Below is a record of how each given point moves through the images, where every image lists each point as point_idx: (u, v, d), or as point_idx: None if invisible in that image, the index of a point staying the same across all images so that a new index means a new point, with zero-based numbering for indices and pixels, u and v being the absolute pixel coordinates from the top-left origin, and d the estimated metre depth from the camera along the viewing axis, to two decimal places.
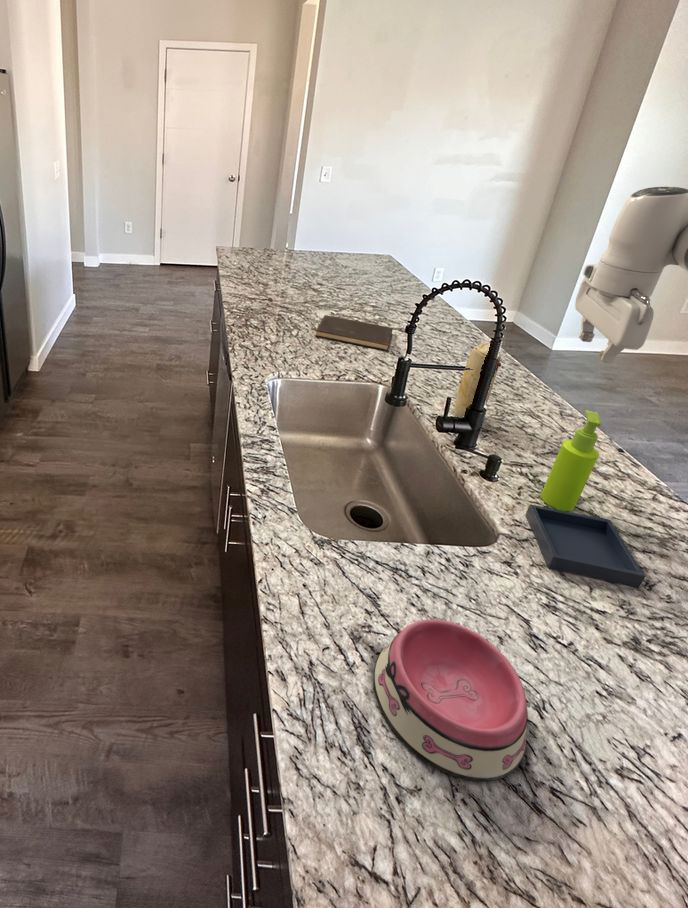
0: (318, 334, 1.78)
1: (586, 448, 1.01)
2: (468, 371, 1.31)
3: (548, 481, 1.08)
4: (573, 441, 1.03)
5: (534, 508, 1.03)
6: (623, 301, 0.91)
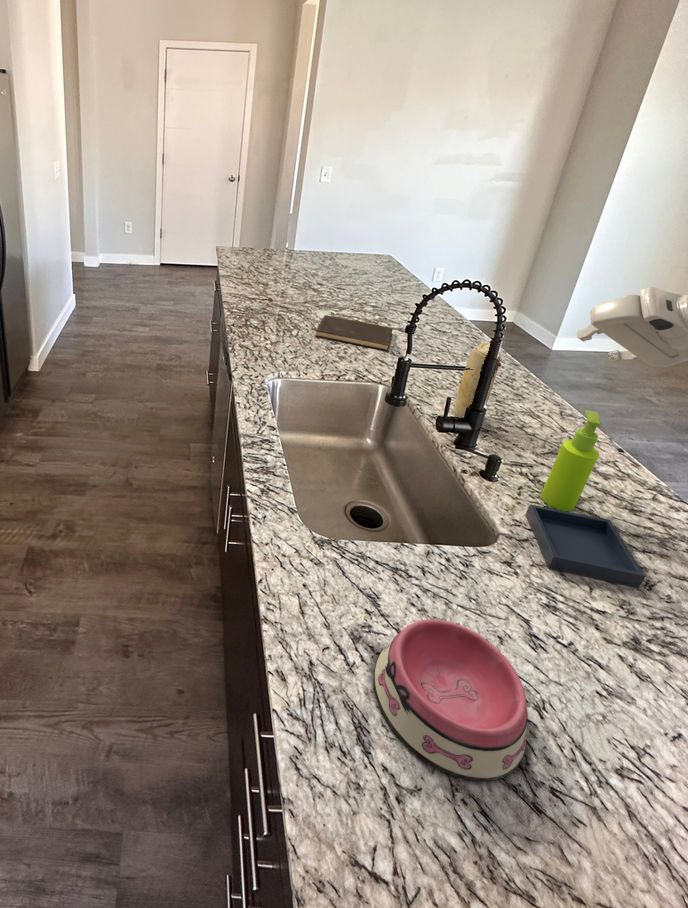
0: (318, 334, 1.78)
1: (586, 448, 1.01)
2: (468, 371, 1.31)
3: (548, 481, 1.08)
4: (573, 441, 1.03)
5: (534, 508, 1.03)
6: None
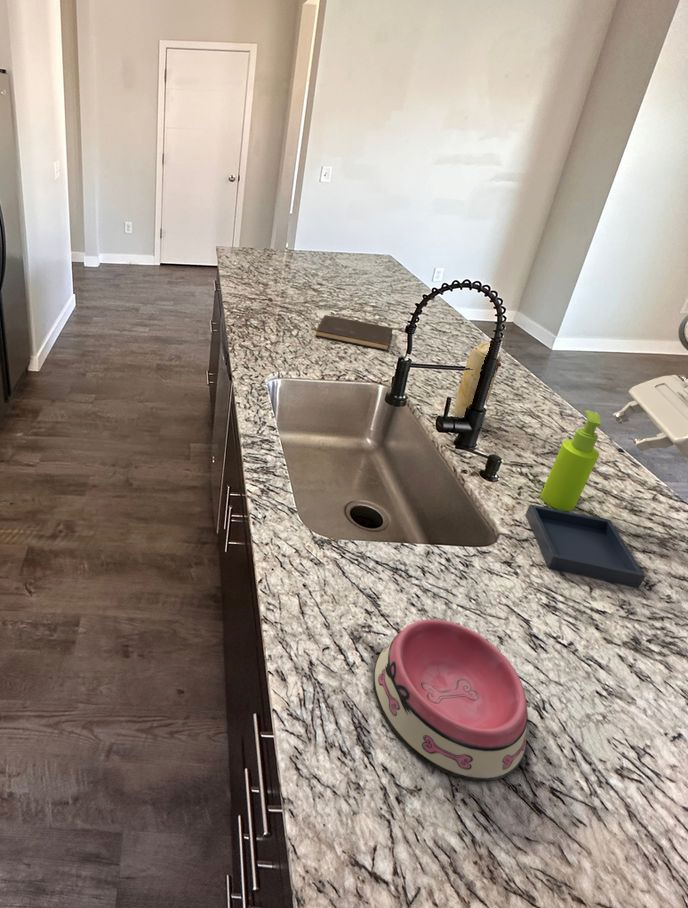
0: (318, 334, 1.78)
1: (586, 448, 1.01)
2: (468, 371, 1.31)
3: (548, 481, 1.08)
4: (573, 441, 1.03)
5: (534, 508, 1.03)
6: None
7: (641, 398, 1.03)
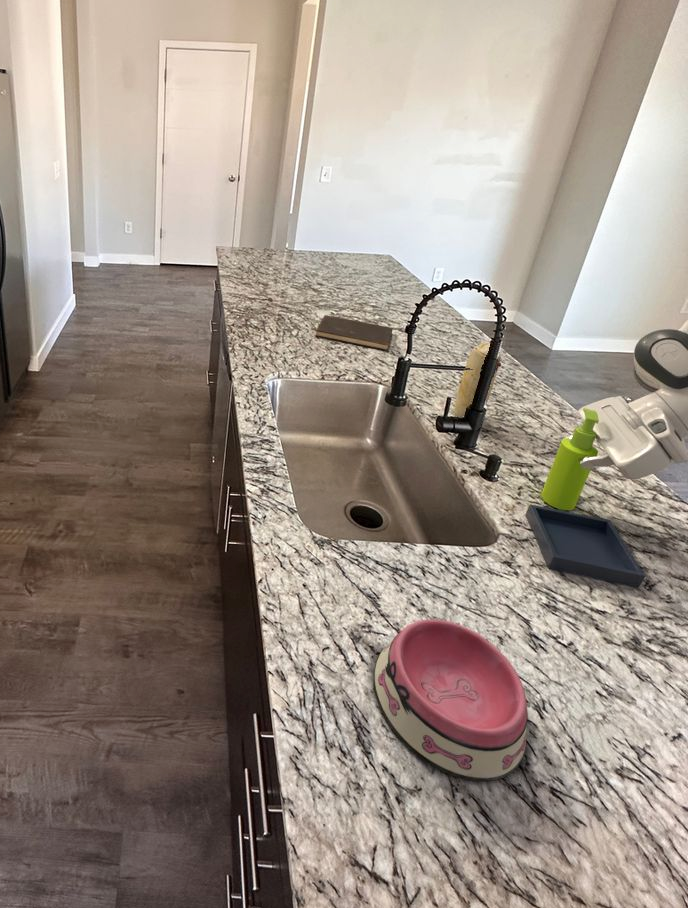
0: (318, 334, 1.78)
1: (585, 445, 1.02)
2: (468, 371, 1.31)
3: (548, 480, 1.08)
4: (572, 439, 1.04)
5: (534, 508, 1.03)
6: None
7: None
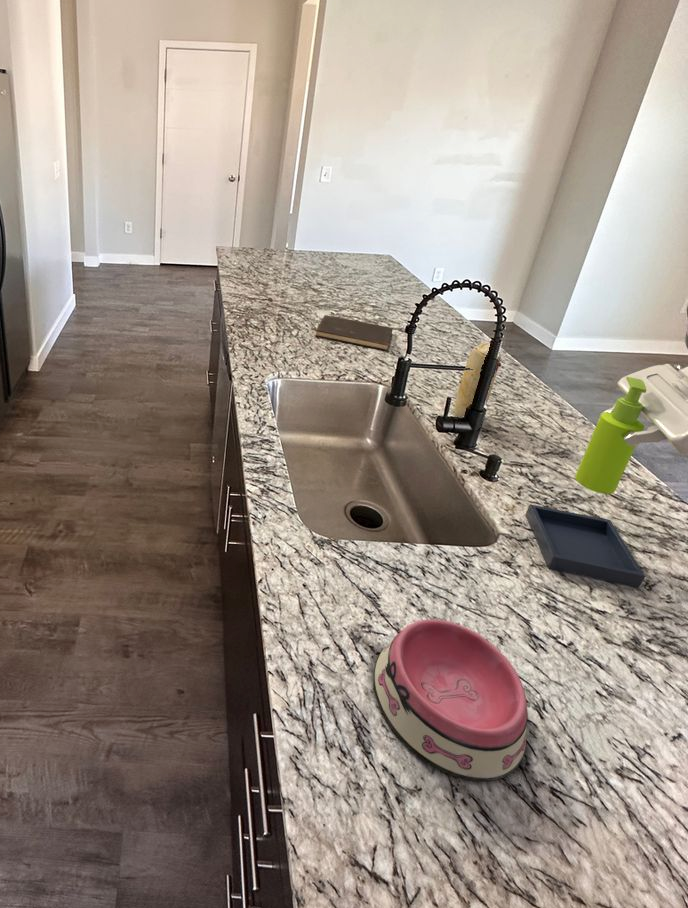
0: (318, 334, 1.78)
1: (630, 418, 0.88)
2: (468, 371, 1.31)
3: (584, 460, 0.95)
4: (614, 412, 0.90)
5: (534, 508, 1.03)
6: None
7: None
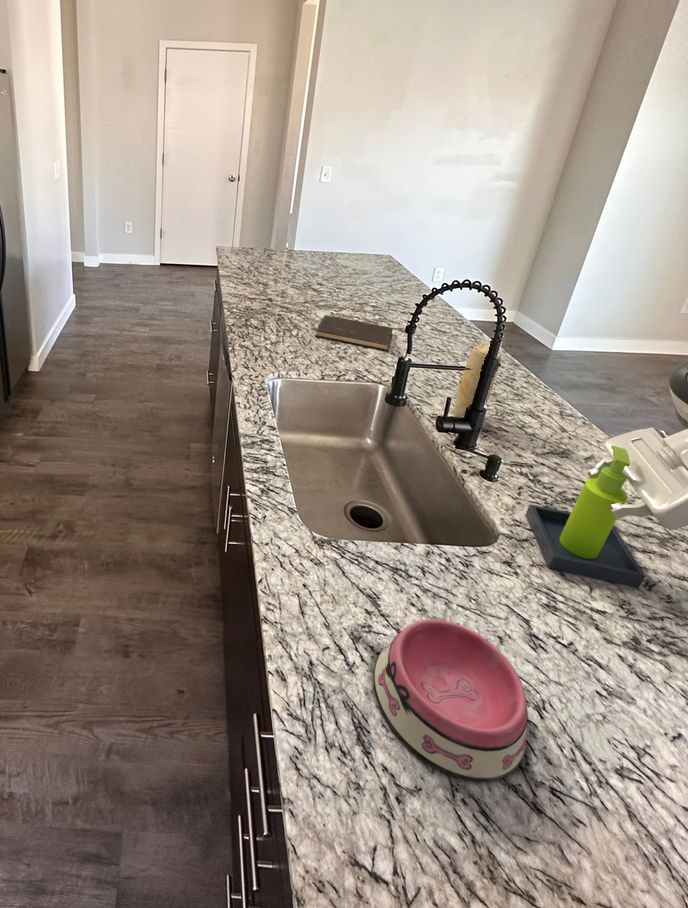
0: (318, 334, 1.78)
1: (613, 490, 0.89)
2: (468, 371, 1.31)
3: (568, 524, 0.96)
4: (598, 481, 0.91)
5: (534, 508, 1.03)
6: None
7: None
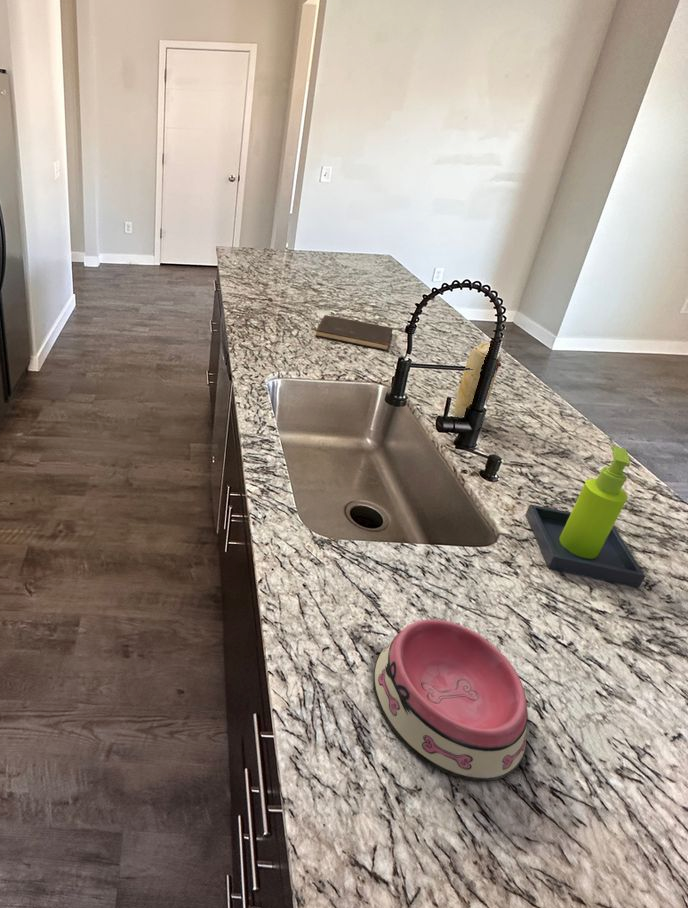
0: (318, 334, 1.78)
1: (613, 490, 0.89)
2: (468, 371, 1.31)
3: (568, 524, 0.96)
4: (598, 481, 0.91)
5: (534, 508, 1.03)
6: None
7: None
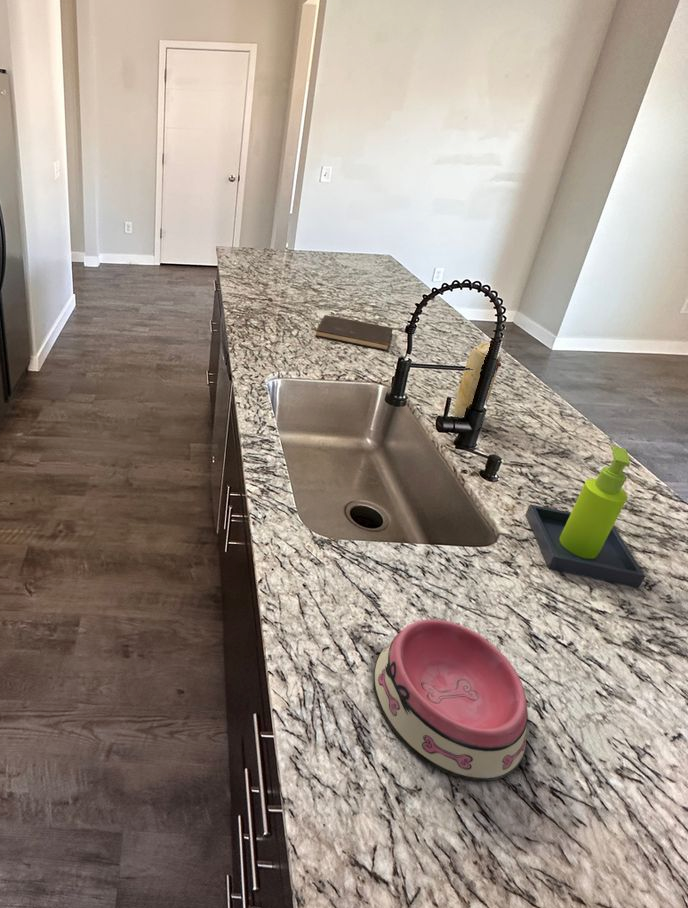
0: (318, 334, 1.78)
1: (613, 490, 0.89)
2: (468, 371, 1.31)
3: (568, 524, 0.96)
4: (598, 481, 0.91)
5: (534, 508, 1.03)
6: None
7: None
